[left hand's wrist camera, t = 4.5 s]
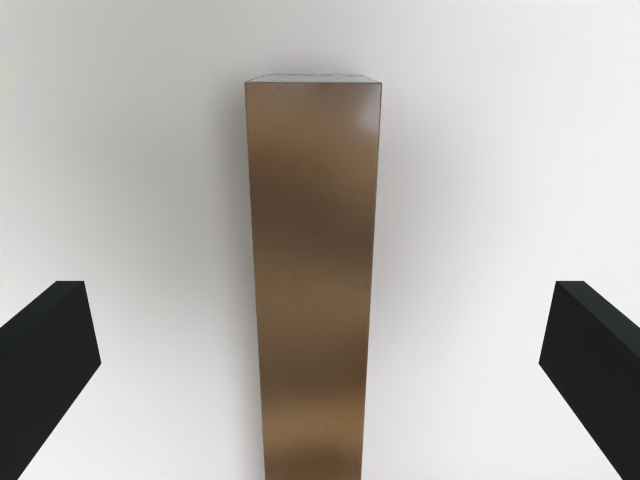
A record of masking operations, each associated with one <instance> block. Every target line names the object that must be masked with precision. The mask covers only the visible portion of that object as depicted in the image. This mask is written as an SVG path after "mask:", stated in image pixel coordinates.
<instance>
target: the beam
mask: <svg viewBox="0 0 640 480" xmlns="http://www.w3.org/2000/svg"><path fill="white" fill-rule="evenodd" d="M381 95H382V83H381V82H378V81H376V80H373V79H371V78H368V77H366V76H363V75H266V76H263V77H259V78H256V79H253V80H249V81H246V82H245V102H246V121H247V140H248V159H249V179H250V198H251V217H252V236H253V255H254V274H255V293H256V313H257V332H258V351H259V370H260V389H261V408H262V427H263V447H264V466H265V480H361V469H362V450H363V432H364V413H365V394H366V375H367V357H368V338H369V319H370V301H371V282H372V263H373V245H374V226H375V207H376V189H377V170H378V151H379V133H380V114H381Z"/></svg>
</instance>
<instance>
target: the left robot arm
mask: <svg viewBox="0 0 640 480" xmlns="http://www.w3.org/2000/svg"><path fill="white" fill-rule="evenodd" d="M100 365H101V359H100V355H99V350H98V345H97V340H96V336H95V331H94V326H93V321H92V317H91V312H90V307H89V303H88V298H87V293H86V288H85V284H84V281H56V282H55V283H53V284H52V285H51V286H50V287H49V288H47V289H46V290H45V291H44V292H43V293H41V294H40V295H39V296H38V297H37V298H35V299H34V300H33V301H32V302H31V303H30V304H28V305H27V306H26V307H25V308H24V309H22V310H21V311H20V312H19V313H18V314H16V315H15V316H14V317H13V318H12V319H10V320H9V321H8V322H7V323H6V324H4V325H3V326H2V327H1V328H0V480H18V478H19V477H20V475H21V474H22V473H23V471H24V470H25V469H26V467H27V466H28V464H29V463H30V462H31V460H32V459H33V457H34V456H35V455H36V453H37V452H38V451H39V449H40V448H41V446H42V445H43V444H44V442H45V441H46V439H47V438H48V437H49V435H50V434H51V433H52V431H53V430H54V428H55V427H56V426H57V424H58V423H59V421H60V420H61V419H62V417H63V416H64V415H65V413H66V412H67V410H68V409H69V408H70V406H71V405H72V403H73V402H74V401H75V399H76V398H77V397H78V395H79V394H80V392H81V391H82V390H83V388H84V387H85V385H86V384H87V383H88V381H89V380H90V379H91V377H92V376H93V374H94V373H95V372H96V370H97V369H98V367H99V366H100ZM539 365H540V366H541V367H542V369H543V370H544V372H545V373H546V374H547V376H548V377H549V379H550V380H551V381H552V383H553V384H554V385H555V387H556V388H557V390H558V391H559V392H560V394H561V395H562V397H563V398H564V399H565V401H566V402H567V403H568V405H569V406H570V408H571V409H572V410H573V412H574V413H575V415H576V416H577V417H578V419H579V420H580V421H581V423H582V424H583V426H584V427H585V428H586V430H587V431H588V433H589V434H590V435H591V437H592V438H593V439H594V441H595V442H596V444H597V445H598V446H599V448H600V449H601V451H602V452H603V453H604V455H605V456H606V457H607V459H608V460H609V462H610V463H611V464H612V466H613V467H614V469H615V470H616V471H617V473H618V474H619V475H620V477H621V478H622V480H640V328H639V327H638V326H637V325H636V324H634V323H633V322H632V321H631V320H630V319H628V318H627V317H626V316H625V315H624V314H622V313H621V312H620V311H619V310H618V309H616V308H615V307H614V306H613V305H612V304H610V303H609V302H608V301H607V300H606V299H605V298H603V297H602V296H601V295H600V294H599V293H597V292H596V291H595V290H594V289H593V288H591V287H590V286H589V285H588V284H587V283H585V282H584V281H556V284H555V288H554V293H553V298H552V303H551V307H550V312H549V317H548V321H547V326H546V331H545V336H544V340H543V345H542V350H541V355H540V359H539Z"/></svg>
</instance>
